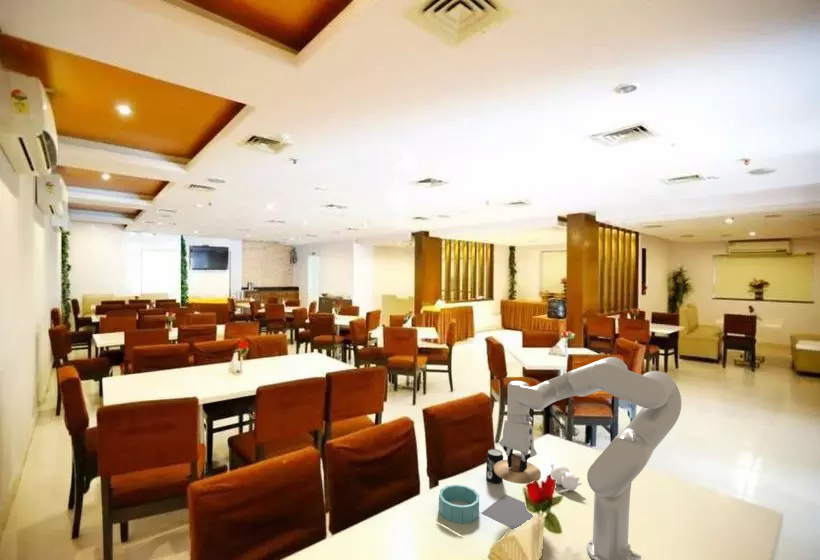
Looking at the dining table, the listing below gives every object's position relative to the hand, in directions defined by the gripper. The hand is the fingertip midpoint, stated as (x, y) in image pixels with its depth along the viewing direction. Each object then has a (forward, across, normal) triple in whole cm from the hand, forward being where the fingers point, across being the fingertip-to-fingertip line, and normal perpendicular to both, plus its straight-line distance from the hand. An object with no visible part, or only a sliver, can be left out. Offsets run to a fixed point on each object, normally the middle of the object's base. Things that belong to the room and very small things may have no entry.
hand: (517, 467), depth 141 cm
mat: (+17, 0, 0) cm, 17 cm away
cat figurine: (+17, -5, -30) cm, 35 cm away
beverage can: (+17, +18, -15) cm, 28 cm away
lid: (+1, 0, 0) cm, 1 cm away
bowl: (+16, +16, +13) cm, 26 cm away
